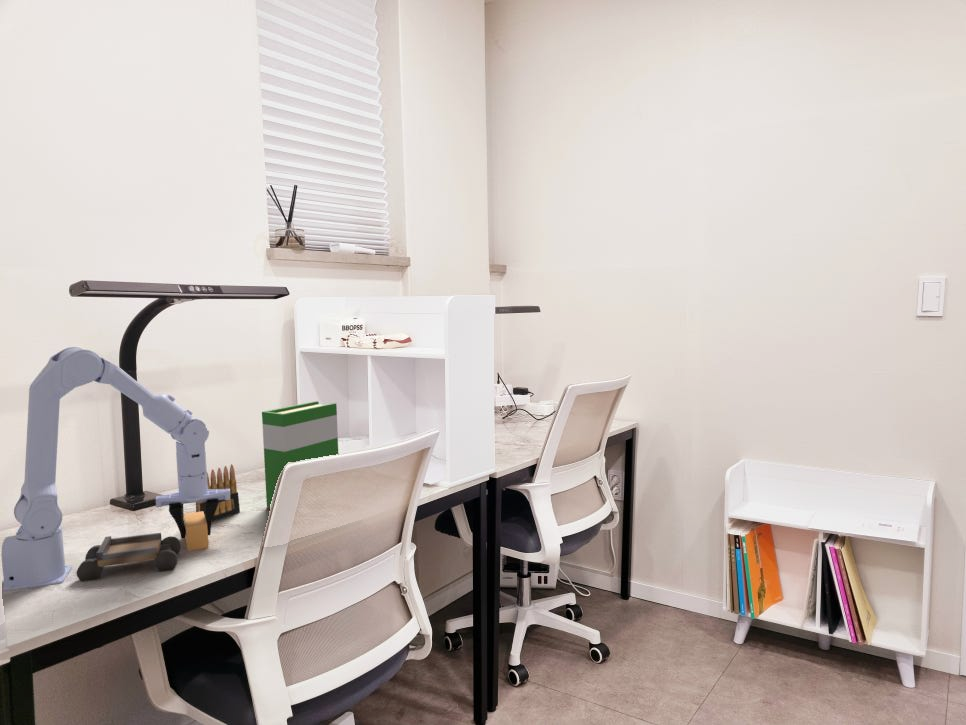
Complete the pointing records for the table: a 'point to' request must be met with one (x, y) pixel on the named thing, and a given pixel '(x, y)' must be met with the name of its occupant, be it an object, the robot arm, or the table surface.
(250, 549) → the table surface
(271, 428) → the hardback book
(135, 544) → the dolly
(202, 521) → the block
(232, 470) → the ammunition clip
